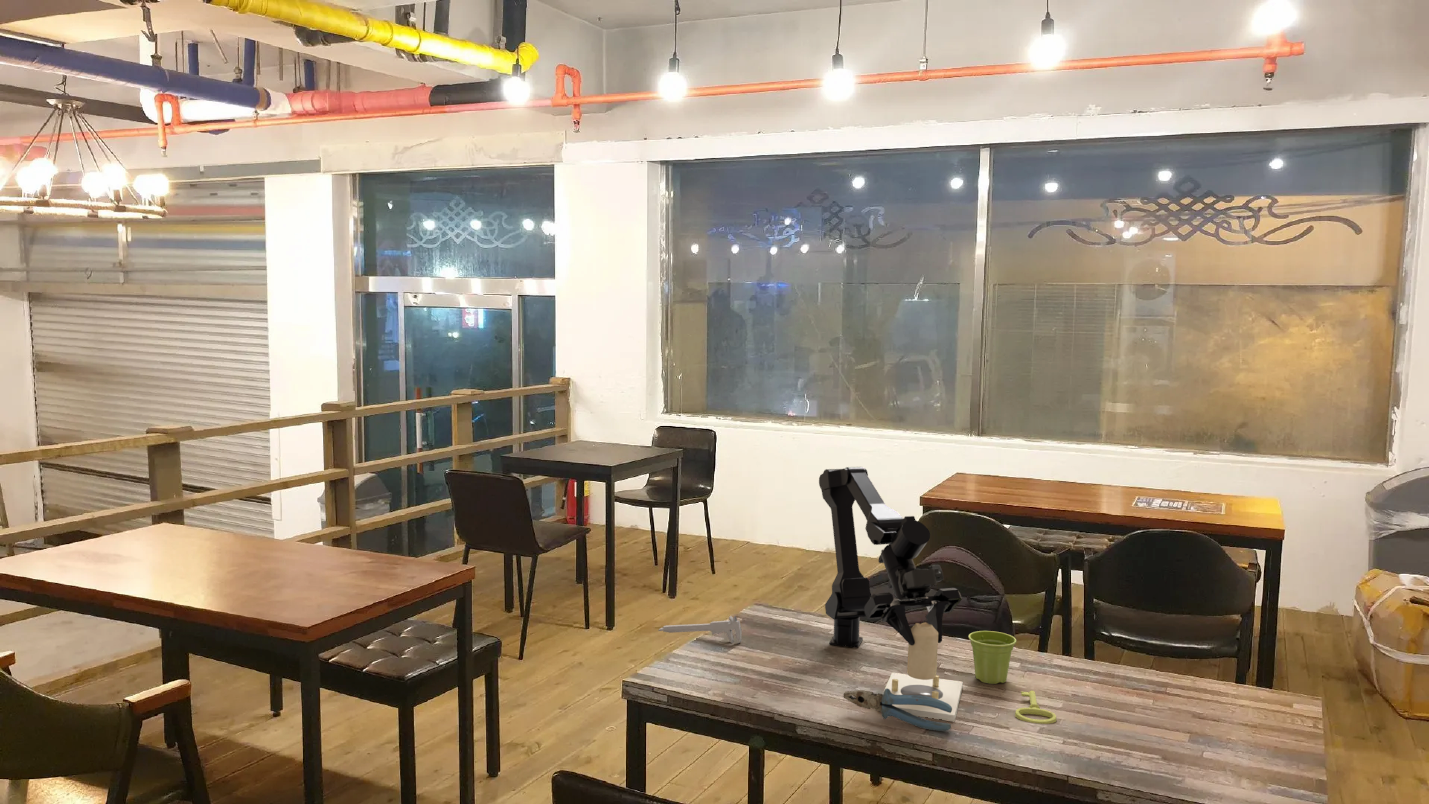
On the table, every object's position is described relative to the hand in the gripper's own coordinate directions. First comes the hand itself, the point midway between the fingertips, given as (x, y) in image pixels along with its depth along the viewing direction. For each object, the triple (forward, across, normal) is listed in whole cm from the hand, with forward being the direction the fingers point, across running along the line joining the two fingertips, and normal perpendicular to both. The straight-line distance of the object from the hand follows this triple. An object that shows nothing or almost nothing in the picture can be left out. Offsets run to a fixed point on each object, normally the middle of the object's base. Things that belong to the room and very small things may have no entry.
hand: (926, 643), depth 193 cm
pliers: (+14, -10, +3) cm, 17 cm away
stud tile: (+7, 0, +9) cm, 11 cm away
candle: (+4, 0, +6) cm, 7 cm away
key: (+15, +18, +2) cm, 23 cm away
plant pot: (+3, +19, +13) cm, 24 cm away
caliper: (-25, -31, +42) cm, 58 cm away
